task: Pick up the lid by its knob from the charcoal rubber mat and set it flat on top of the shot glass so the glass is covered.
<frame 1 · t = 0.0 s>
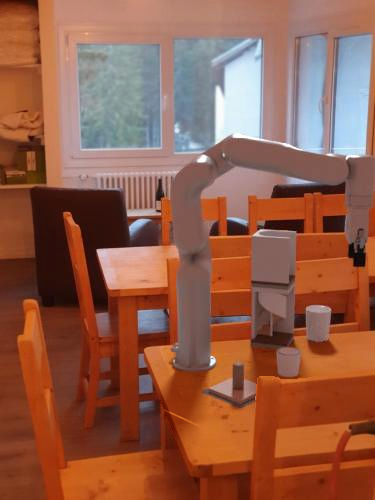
hand: (356, 262, 194), 31 cm above the table, tool pointing down, fingers open, 9 cm apart
white coffee machine: (272, 342, 222), on the table
shot glass: (288, 374, 197), on the table
lid: (238, 391, 185), resting on mat
white cup: (317, 339, 225), on the table
mat: (238, 392, 186), on the table
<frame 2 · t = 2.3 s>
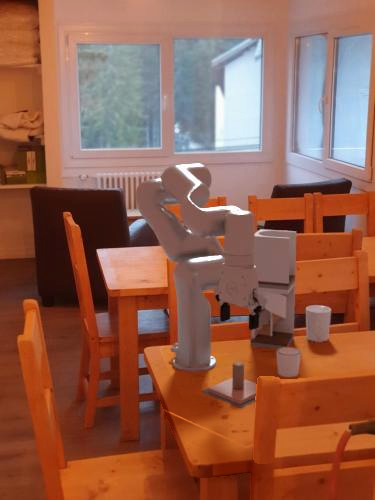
hand: (239, 324, 181), 19 cm above the table, tool pointing down, fingers open, 9 cm apart
nothing on the table moved.
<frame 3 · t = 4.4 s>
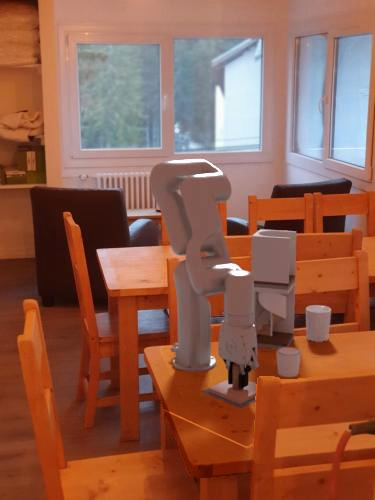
hand: (238, 384, 185), 2 cm above the table, tool pointing down, fingers closed on lid, 3 cm apart
lid: (238, 391, 185), resting on mat, touching gripper
everything else where it was.
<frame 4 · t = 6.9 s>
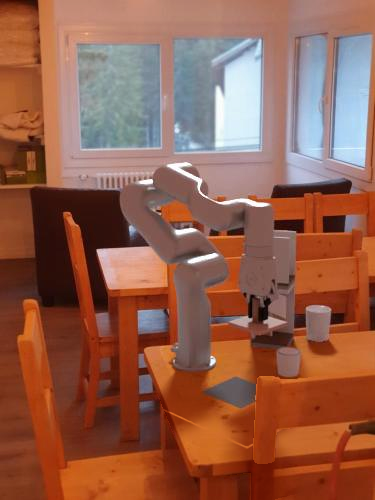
hand: (258, 318, 185), 19 cm above the table, tool pointing down, fingers closed on lid, 3 cm apart
lid: (257, 325, 186), point 17 cm above the table, touching gripper
everything else where it was.
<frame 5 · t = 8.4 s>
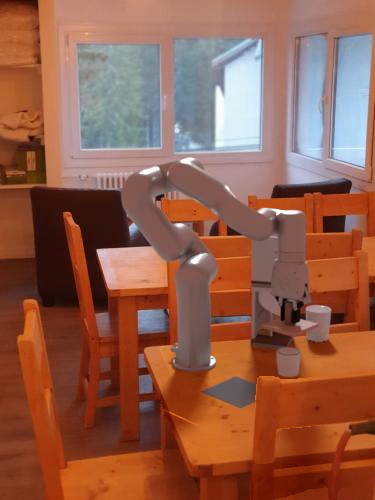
hand: (290, 320, 194), 16 cm above the table, tool pointing down, fingers closed on lid, 3 cm apart
lid: (290, 327, 194), point 14 cm above the table, touching gripper
everything else where it was.
when the fingers open (11 cm above the table, at t = 9.5 s): lid drops 2 cm, resting on shot glass.
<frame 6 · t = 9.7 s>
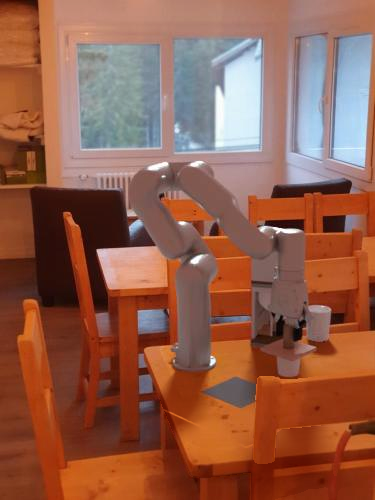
hand: (288, 337, 195), 11 cm above the table, tool pointing down, fingers open, 5 cm apart
shot glass: (288, 374, 197), on the table, touching lid
lid: (288, 350, 196), point 7 cm above the table, touching shot glass
everything else where it was.
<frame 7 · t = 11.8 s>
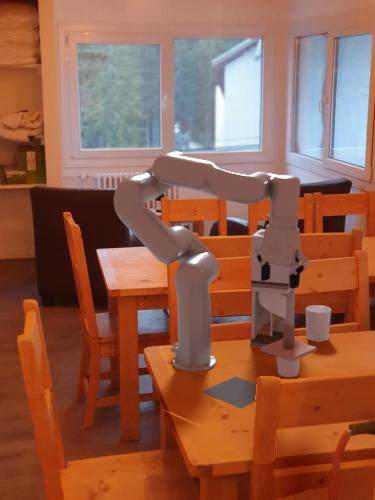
hand: (279, 283, 191), 26 cm above the table, tool pointing down, fingers open, 9 cm apart
nothing on the table moved.
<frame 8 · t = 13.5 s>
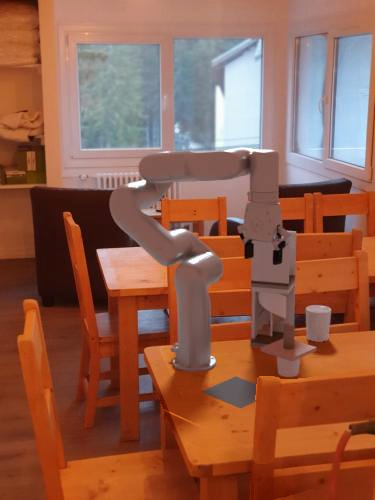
hand: (262, 261, 188), 33 cm above the table, tool pointing down, fingers open, 9 cm apart
nothing on the table moved.
at the end: lid 0.1 cm off-centre on the shot glass, point 7.2 cm above the shot glass's base; lid tilted 0°; lid touching shot glass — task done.
